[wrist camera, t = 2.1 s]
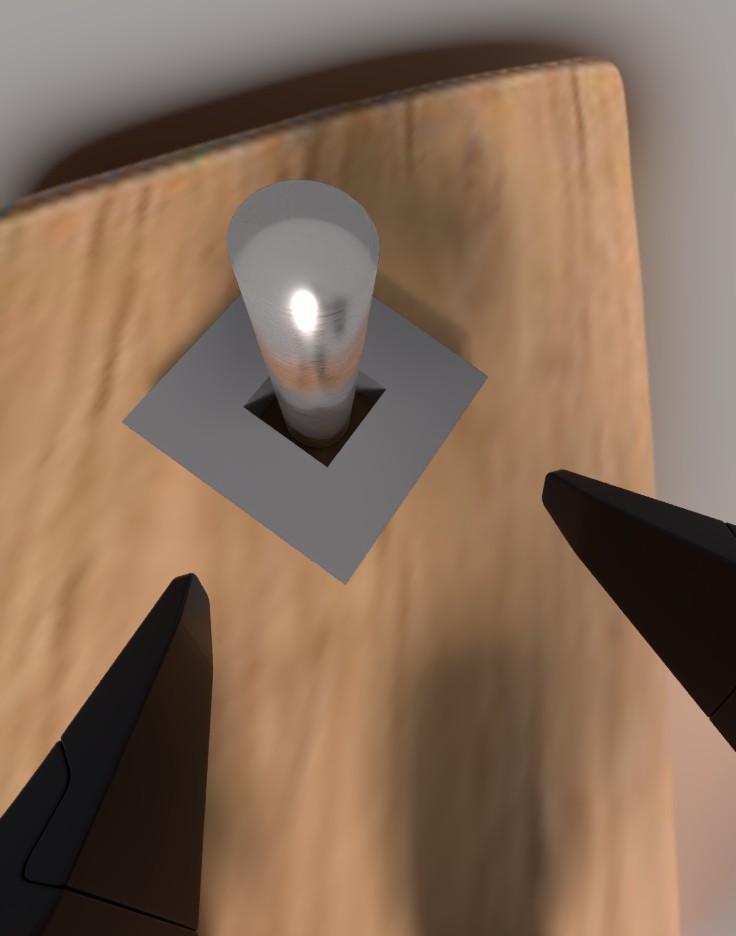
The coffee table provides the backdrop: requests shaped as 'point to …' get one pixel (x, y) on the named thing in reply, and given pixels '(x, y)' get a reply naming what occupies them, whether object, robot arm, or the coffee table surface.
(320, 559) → the pocket block
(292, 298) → the steel peg
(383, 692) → the coffee table surface
